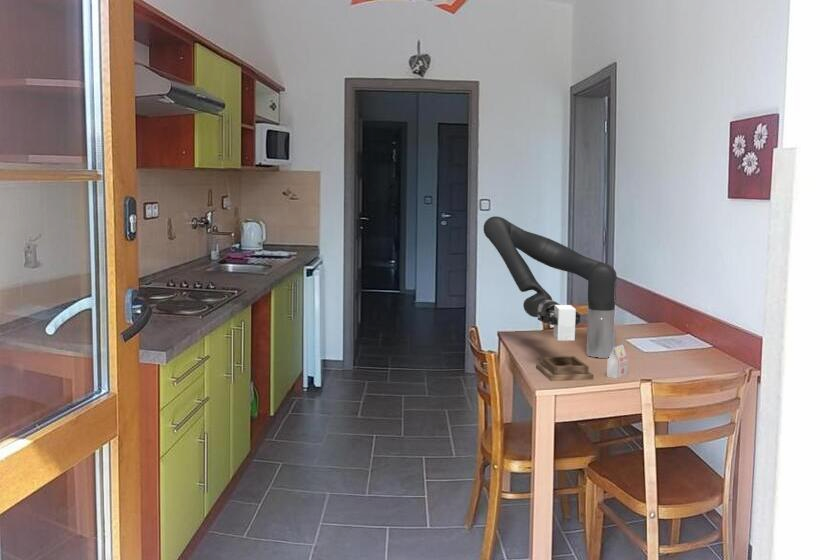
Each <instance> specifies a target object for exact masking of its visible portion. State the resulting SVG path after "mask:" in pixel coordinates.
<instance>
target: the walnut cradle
mask: <svg viewBox="0 0 820 560" xmlns="http://www.w3.org/2000/svg"><path fill="white" fill-rule="evenodd" d="M540 360H541V362H540V363H536V364H535V367H536V370H538V371H539V372H540V373H541V374H542V375H544V376H545V377H546V378H547V379H548V380H549V381H551V382H552V381H554V382H556V381H557V382H559V381H560V382H561V381H584V380H583V379H593V380H594V377H595V376H594V374H593V373H591V372H590V371H589V365H587V364H586V363H585V362H583V361H582V360H580V359H578V358H577V357H576V356H573V355H571V356H544V357H543V356H542V357H541V359H540Z"/></svg>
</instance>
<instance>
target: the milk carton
mask: <svg viewBox="0 0 820 560" xmlns="http://www.w3.org/2000/svg"><path fill="white" fill-rule="evenodd" d="M606 363H607V364H606V377H607V376H608V377H613V378H620V377H622V376H624V375H628V356H627V353H626V351H625V347H624V344H620V345H617V346H615V347H614V348H613V350H612V352H611V354H610V356H609V358H607V360H606ZM624 377H625V376H624ZM622 378H623V377H622ZM620 379H621V378H620Z"/></svg>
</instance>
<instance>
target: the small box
mask: <svg viewBox="0 0 820 560" xmlns="http://www.w3.org/2000/svg"><path fill="white" fill-rule="evenodd" d="M576 312H577V309H576V308H575V307H574V306H573V305H572V304H560V305H555V306H554V316H555V317H556V318H558V324H557V325H553V336H554V338H555V339H556V340H557V341H558V342H559V341H560V342H561V341H564V342H565V341H566V342H567V341H568V342H572V341H573V342H575V340H576V338H575V337H576V325H575V319H576Z"/></svg>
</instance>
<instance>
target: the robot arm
mask: <svg viewBox="0 0 820 560" xmlns="http://www.w3.org/2000/svg"><path fill="white" fill-rule="evenodd" d="M483 233H484V236H485V237H486V238H487V239H488V241H490V243H491V244H492V245H493V246H494V248H495V249H496V250H497V252H498V253H499V255H500V257H501V259H502V260H503V262H504V263H505V265H506V268H507V270H508V271H509V273H510V275H511V277H512V279H513V281H514V282H515V285H516V286H517V288H518V290H519V291H520V292H521V293H524V292H526V293H527V292H529V291H534V292H536V293H534V294H533V295H531V296H529V297H526V299H525V300H523V301H524V302H523V309H524V311H525V313H526V315H527V314H528V316H530V317H533V318H537V321H540V322H542V323H544V324H547V323H548V325H551V326H554V325H557V324H558V318H556V317H555V316H554V306H555V305H561V304H560V303H558V302H556V301H555V300H553V298H552V296H551V295H550V294H549V292H547V291H546V289H545V288H544V287H542V285H541V284H540V283H539V282H538V281H537V279H536V277H535V275H534V274H533V272H532V270H531V268H530V267H529V265H528V264H527V262H526V261H525V259H524V258H523V257H522V255H521V253H520V252H522V253H524V254H525V255H526V256H528V257H530V258H532V259H533V260H535V261H537V262H539V263H541V264H543V265H545V266H548V267H550V268H553V269H554V270H555V269H556V270H559V271H563V272H567V273H571V274H574V275H577V276H579V277H581V278H583V279H585V280H586V281H588V283H587V284H588V285H587V303H588V304H587V329H586V330H587V331H586V332H587V333H586V350H585V351H586V353H585V354H586V355H587V356H588V357H590V356H591V358H595V357H598V358H599V359H608V357H609V356H610V354H611V352H612V350H613V348H614V347H616V334H617V333H616V330H615V309H616V299H615V295H616V282H617V275H618V274H617V271H616V270H615V268H614V267H613V266H612V265H610V264H608V263H605V262H601V261H599V260H596V259H593V258H590V257H587V256H585V255H583V254H581V253H579V252H577V251H576V250H574V249H571V248H570V247H567V246H566V245H564V244H562V243H560V242H557V241H556V240H553V239H551V238H549V237H546V236H543V235H540V234H538V233H537V234H536V233H533V232H530V231H527V230H524V229H523V228H520V227H519V226H517V225H515V224H514V223H512V222H510V221H509V220H508V219H505V218H503V217H502V216H501V217H500V216H490V217H489V218H487V219H486V220H485V221H484V224H483ZM518 250H519V251H520V252H519V251H518ZM580 323H581V314H580V313H579V312H578V311H576V319H575V326H577V325H579V324H580ZM598 358H597V359H598Z"/></svg>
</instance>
